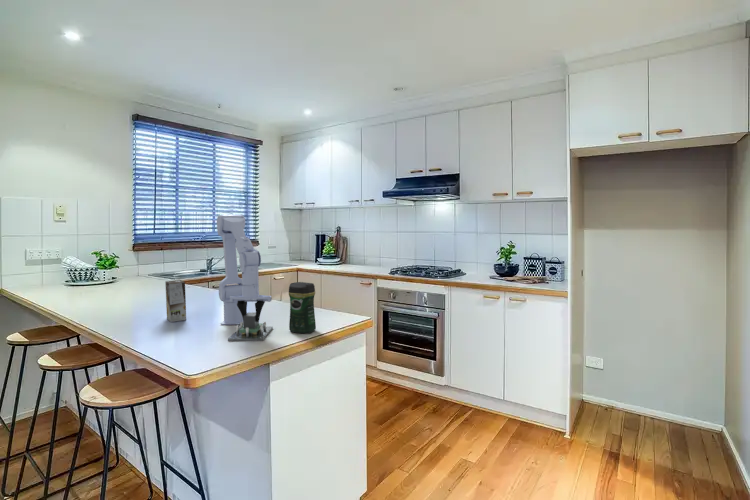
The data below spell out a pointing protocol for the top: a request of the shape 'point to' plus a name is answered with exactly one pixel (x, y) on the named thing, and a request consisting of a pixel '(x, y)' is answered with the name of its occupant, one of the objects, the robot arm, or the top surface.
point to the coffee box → (175, 300)
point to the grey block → (250, 323)
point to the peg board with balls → (250, 336)
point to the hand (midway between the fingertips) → (251, 321)
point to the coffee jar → (302, 307)
